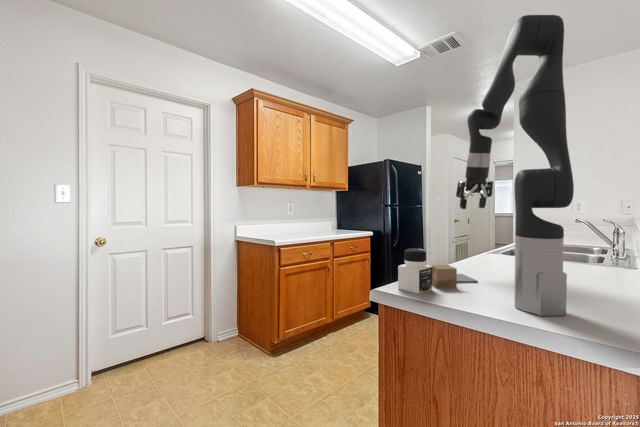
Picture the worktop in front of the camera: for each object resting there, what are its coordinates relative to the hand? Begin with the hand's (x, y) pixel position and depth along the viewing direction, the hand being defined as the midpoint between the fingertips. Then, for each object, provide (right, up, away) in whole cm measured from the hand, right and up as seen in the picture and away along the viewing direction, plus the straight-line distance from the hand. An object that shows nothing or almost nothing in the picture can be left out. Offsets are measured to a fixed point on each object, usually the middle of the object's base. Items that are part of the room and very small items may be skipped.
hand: (472, 208), depth 114 cm
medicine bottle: (-30, -25, -26) cm, 47 cm away
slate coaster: (-13, -24, -14) cm, 31 cm away
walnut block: (-21, -24, -22) cm, 39 cm away
